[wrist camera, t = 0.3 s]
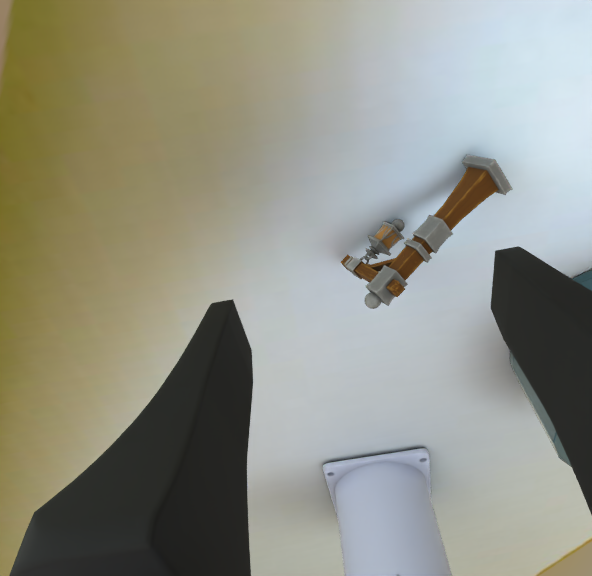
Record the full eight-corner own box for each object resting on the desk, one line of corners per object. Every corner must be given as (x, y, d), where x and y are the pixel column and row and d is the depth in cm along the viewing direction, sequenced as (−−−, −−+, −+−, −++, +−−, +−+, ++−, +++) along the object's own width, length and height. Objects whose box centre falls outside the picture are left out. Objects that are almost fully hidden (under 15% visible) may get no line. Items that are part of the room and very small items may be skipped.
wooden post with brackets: (320, 267, 24) (365, 302, 20) (432, 148, 23) (499, 160, 20) (342, 288, 24) (388, 325, 21) (449, 174, 24) (516, 190, 20)
